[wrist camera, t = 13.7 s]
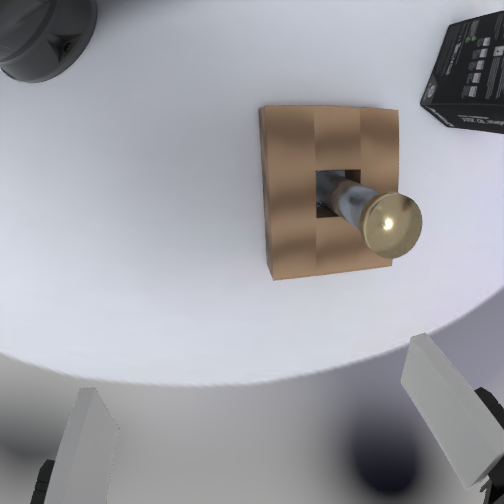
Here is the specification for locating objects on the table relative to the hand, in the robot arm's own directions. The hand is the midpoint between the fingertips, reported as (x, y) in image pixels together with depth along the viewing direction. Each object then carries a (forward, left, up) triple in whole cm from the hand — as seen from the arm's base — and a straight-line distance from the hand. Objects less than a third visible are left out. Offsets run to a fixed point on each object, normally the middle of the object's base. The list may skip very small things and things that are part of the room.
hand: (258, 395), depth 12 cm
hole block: (-2, +13, -30) cm, 33 cm away
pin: (-2, +13, -30) cm, 33 cm away
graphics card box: (-19, +34, -31) cm, 49 cm away
